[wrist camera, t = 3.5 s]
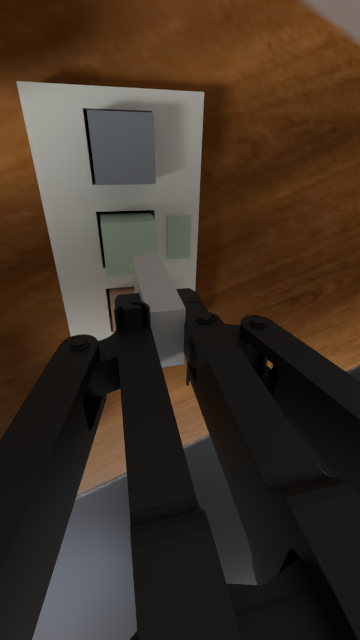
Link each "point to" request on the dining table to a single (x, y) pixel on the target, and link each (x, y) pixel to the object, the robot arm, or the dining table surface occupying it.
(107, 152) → the slate grey button
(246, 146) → the dining table surface
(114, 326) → the salmon pink button
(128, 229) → the sage button
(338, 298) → the dining table surface
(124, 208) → the button board
